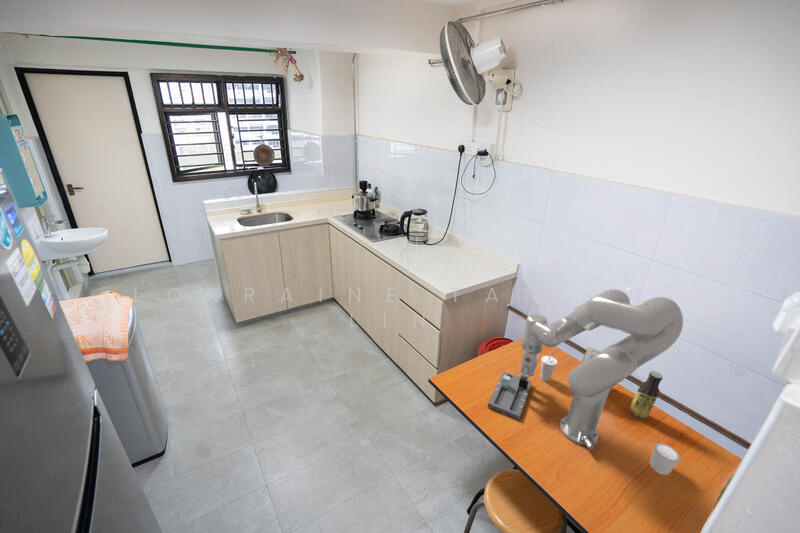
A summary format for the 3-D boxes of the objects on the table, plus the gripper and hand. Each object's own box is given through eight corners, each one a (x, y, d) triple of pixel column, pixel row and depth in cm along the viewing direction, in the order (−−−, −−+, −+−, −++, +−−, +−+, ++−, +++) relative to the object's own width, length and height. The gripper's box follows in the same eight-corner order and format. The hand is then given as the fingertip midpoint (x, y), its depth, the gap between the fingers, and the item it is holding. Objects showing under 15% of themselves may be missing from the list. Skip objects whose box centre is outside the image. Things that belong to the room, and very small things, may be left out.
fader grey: (524, 390, 147) (527, 376, 144) (517, 387, 149) (521, 373, 146) (525, 386, 149) (528, 372, 146) (519, 384, 151) (522, 370, 148)
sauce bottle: (628, 416, 139) (645, 375, 131) (628, 406, 144) (643, 366, 136) (648, 423, 136) (666, 382, 128) (647, 412, 141) (664, 372, 133)
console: (518, 420, 135) (519, 415, 134) (487, 406, 140) (488, 402, 139) (531, 385, 152) (532, 381, 151) (503, 374, 158) (503, 370, 157)
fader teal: (507, 390, 147) (509, 380, 145) (500, 388, 148) (502, 378, 146) (508, 387, 149) (510, 377, 147) (502, 384, 150) (504, 374, 148)
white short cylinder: (649, 454, 124) (655, 439, 121) (673, 466, 120) (680, 451, 117) (646, 467, 119) (653, 452, 116) (671, 481, 115) (679, 465, 112)
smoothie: (533, 375, 158) (540, 349, 152) (544, 371, 161) (551, 345, 155) (544, 385, 153) (551, 358, 147) (556, 381, 155) (563, 354, 150)
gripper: (537, 359, 132) (530, 396, 138) (546, 337, 146) (539, 372, 152) (517, 353, 135) (510, 389, 141) (527, 331, 149) (520, 366, 155)
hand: (525, 380), depth 147 cm, fingers open, 9 cm apart
